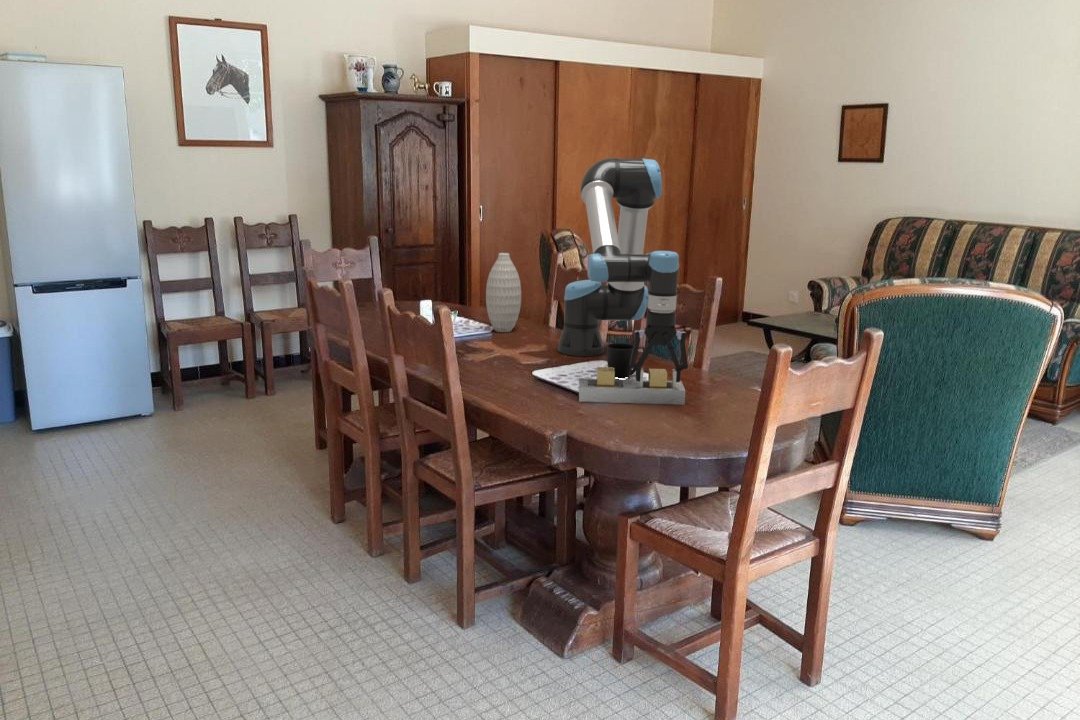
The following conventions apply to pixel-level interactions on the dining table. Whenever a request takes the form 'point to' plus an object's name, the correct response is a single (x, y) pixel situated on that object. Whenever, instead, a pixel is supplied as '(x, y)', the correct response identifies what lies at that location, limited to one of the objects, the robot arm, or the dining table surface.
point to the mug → (620, 359)
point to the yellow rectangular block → (657, 378)
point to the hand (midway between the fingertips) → (656, 392)
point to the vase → (503, 294)
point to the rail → (630, 392)
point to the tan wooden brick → (605, 376)
